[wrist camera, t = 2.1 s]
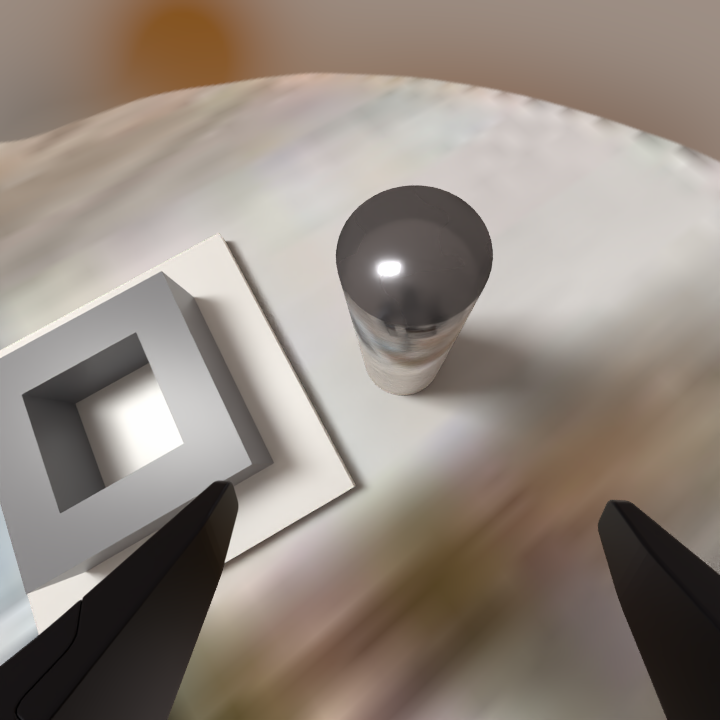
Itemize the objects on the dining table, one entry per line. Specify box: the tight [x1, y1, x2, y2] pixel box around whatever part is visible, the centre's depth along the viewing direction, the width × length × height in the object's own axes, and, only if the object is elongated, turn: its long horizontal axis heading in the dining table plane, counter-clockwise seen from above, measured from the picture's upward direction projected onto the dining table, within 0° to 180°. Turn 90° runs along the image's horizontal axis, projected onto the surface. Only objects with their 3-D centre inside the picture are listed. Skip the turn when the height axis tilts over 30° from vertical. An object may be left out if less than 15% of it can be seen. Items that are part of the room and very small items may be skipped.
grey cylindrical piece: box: [336, 186, 493, 395], centre depth 17 cm, size 4×4×12 cm
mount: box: [0, 233, 356, 634], centre depth 21 cm, size 18×18×4 cm
